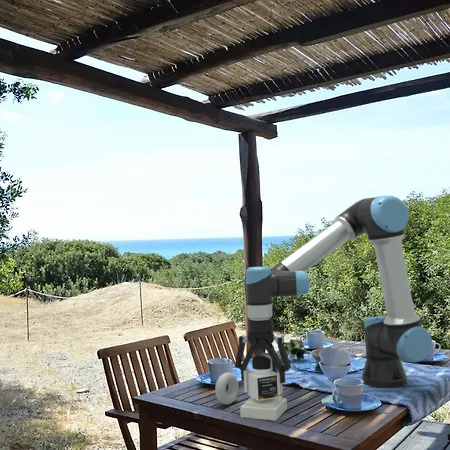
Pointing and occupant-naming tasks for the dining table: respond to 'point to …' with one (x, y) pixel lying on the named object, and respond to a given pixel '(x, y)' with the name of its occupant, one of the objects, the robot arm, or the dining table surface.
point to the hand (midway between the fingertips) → (263, 392)
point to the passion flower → (295, 349)
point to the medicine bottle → (262, 379)
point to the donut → (232, 390)
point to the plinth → (264, 408)
